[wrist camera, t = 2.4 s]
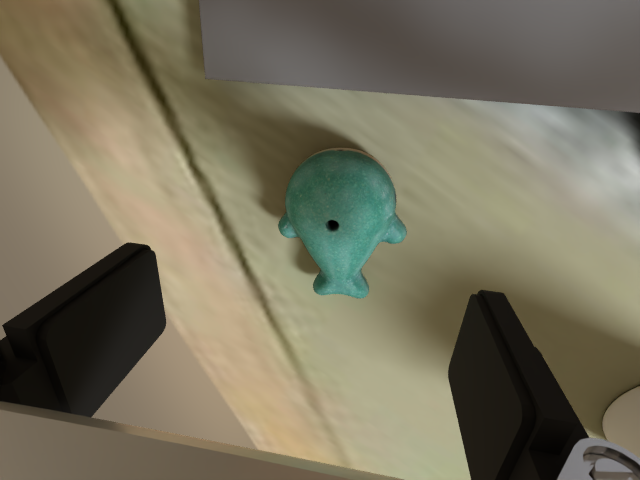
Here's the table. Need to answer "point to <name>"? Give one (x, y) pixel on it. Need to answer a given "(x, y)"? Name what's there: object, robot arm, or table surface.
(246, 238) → the table surface
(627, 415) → the mug
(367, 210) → the whale figurine
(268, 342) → the table surface
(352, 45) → the display plinth
